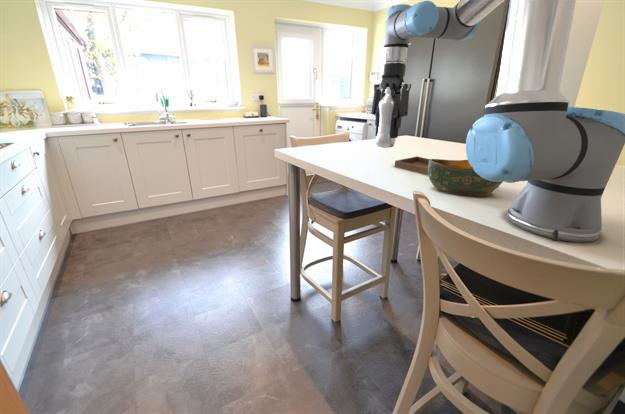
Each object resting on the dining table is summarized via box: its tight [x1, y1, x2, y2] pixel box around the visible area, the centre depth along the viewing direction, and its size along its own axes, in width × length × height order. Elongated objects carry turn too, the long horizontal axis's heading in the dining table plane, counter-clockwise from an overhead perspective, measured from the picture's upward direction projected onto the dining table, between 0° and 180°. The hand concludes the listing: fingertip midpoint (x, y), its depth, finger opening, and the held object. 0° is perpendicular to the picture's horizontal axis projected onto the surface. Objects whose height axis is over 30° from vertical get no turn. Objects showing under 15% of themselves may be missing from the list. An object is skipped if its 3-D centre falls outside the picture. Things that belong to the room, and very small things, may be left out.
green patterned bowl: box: [427, 158, 503, 198], centre depth 77 cm, size 13×20×10 cm, turn 49°
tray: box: [394, 156, 431, 176], centre depth 100 cm, size 14×22×2 cm, turn 37°
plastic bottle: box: [375, 87, 396, 149], centre depth 98 cm, size 6×7×20 cm
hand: (386, 136), depth 100 cm, fingers closed on plastic bottle, 6 cm apart
